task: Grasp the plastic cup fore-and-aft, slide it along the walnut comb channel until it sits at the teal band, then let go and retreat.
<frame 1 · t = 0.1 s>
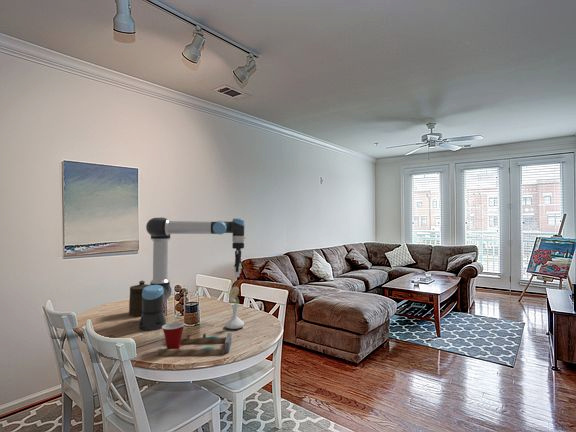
hand: (237, 275, 212), 28 cm above the table, fingers open, 13 cm apart
end stop: (228, 347, 164), on the table
wooden container: (141, 313, 220), on the table
flower in vase: (234, 328, 194), on the table
comb channel: (193, 348, 163), on the table
plastic cup: (173, 349, 162), on the table
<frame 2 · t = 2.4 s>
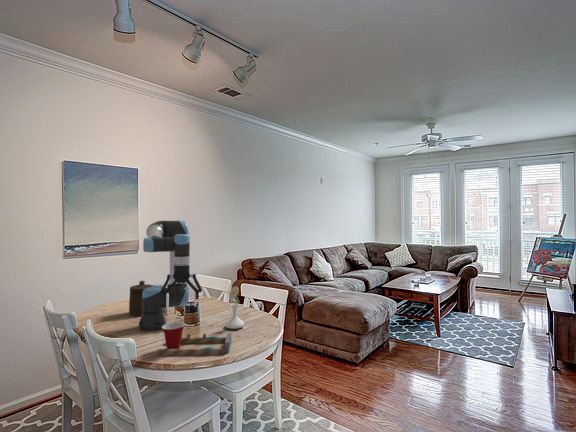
hand: (181, 306, 167), 20 cm above the table, fingers open, 13 cm apart
nothing on the table moved.
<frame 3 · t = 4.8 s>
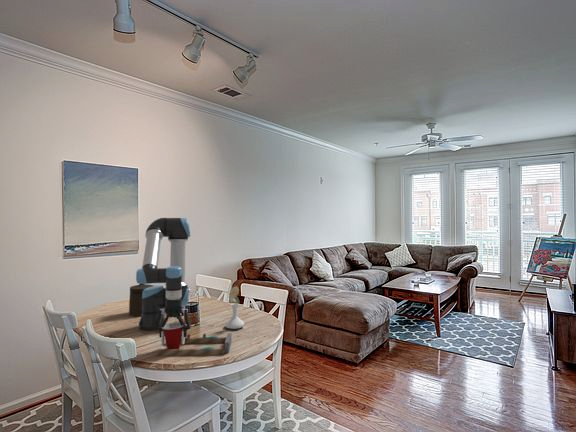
hand: (173, 343, 162), 3 cm above the table, fingers closed on plastic cup, 9 cm apart
plastic cup: (173, 349, 162), on the table, touching gripper
everything else where it was.
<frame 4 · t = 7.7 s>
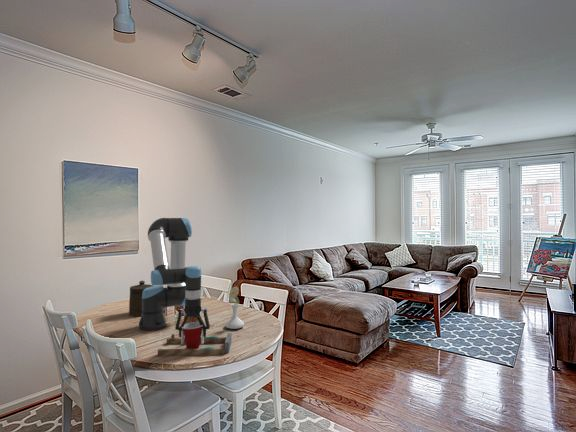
hand: (192, 343, 163), 3 cm above the table, fingers closed on plastic cup, 9 cm apart
plastic cup: (192, 348, 163), on the table, touching gripper
everything else where it was.
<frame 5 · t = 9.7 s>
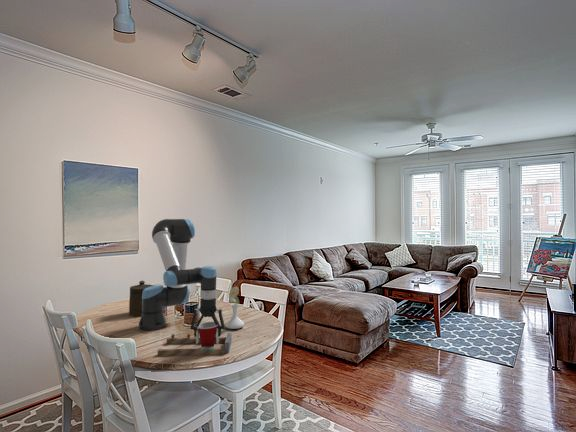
hand: (207, 342, 163), 3 cm above the table, fingers closed on plastic cup, 9 cm apart
plastic cup: (207, 348, 163), on the table, touching gripper
everything else where it was.
when the fingers open (3 cm above the table, at t = 10.8 s): plastic cup moves 3 cm, on the table.
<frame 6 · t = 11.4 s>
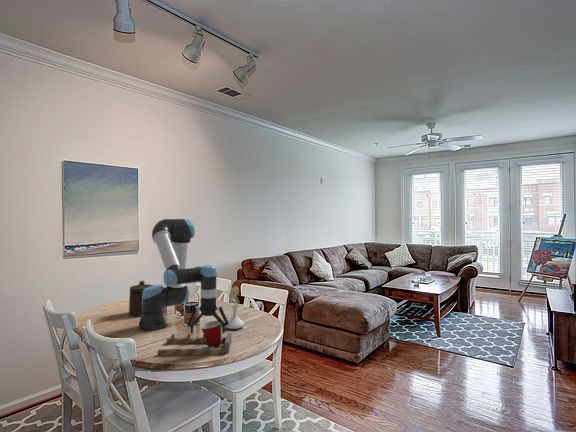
hand: (208, 339, 164), 4 cm above the table, fingers open, 13 cm apart
plastic cup: (214, 347, 164), on the table, touching gripper
everything else where it was.
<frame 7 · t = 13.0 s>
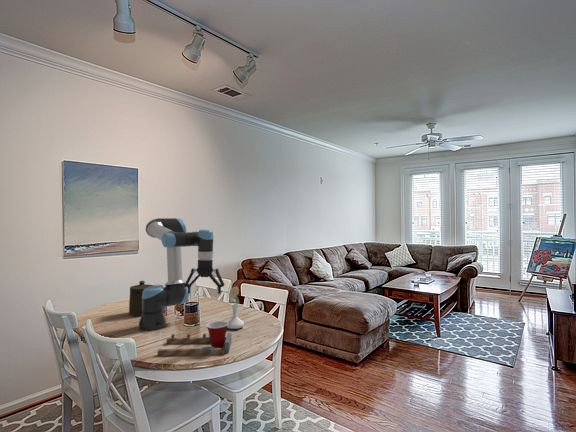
hand: (204, 299, 171), 22 cm above the table, fingers open, 13 cm apart
plastic cup: (217, 347, 164), on the table
everything else where it was.
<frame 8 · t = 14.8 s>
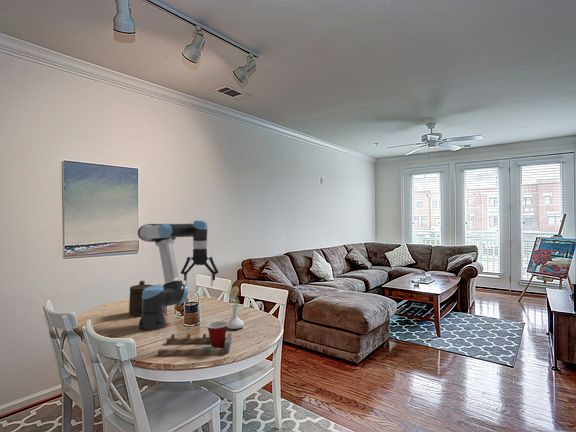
hand: (199, 286, 182), 27 cm above the table, fingers open, 13 cm apart
nothing on the table moved.
at the end: plastic cup inside the target area (3.5 cm from its centre), on the table; plastic cup tilted 0°; the gripper is holding nothing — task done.
